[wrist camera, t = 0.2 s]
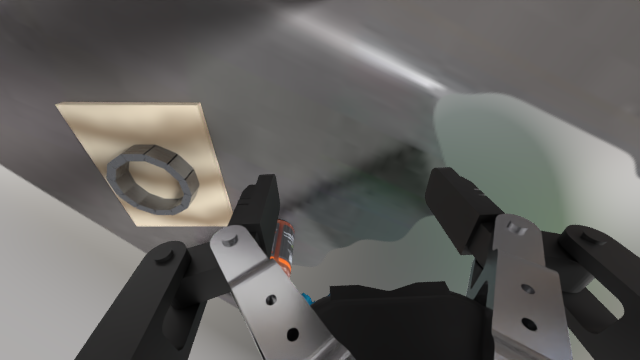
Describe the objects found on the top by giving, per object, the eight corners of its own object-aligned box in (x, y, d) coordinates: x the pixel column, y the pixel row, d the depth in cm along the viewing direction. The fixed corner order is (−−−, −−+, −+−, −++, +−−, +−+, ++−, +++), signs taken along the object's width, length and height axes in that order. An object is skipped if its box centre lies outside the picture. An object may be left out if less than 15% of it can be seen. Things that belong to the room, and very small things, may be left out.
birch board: (63, 101, 26) (54, 104, 26) (200, 102, 27) (196, 105, 26) (140, 221, 38) (136, 226, 37) (235, 221, 38) (233, 226, 37)
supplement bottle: (253, 229, 39) (234, 293, 30) (276, 212, 37) (262, 275, 28) (279, 245, 42) (269, 308, 33) (302, 230, 40) (297, 293, 30)
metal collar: (105, 144, 29) (89, 153, 27) (184, 144, 29) (174, 154, 27) (141, 203, 34) (130, 215, 32) (207, 203, 35) (200, 215, 32)
